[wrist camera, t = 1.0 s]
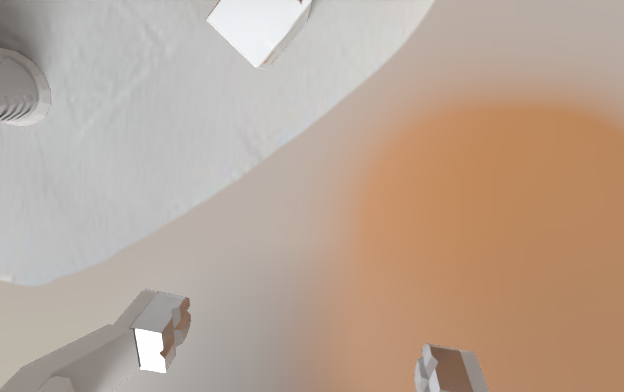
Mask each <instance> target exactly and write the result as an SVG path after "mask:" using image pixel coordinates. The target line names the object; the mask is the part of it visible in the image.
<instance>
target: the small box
mask: <svg viewBox="0 0 624 392" xmlns="http://www.w3.org/2000/svg"><path fill="white" fill-rule="evenodd" d="M311 4H312V0H219V2H218V3H217V4H216V6H215V7H214V9H213V10H212V11H211V13H210V14H209V15H208V17H207V18H206V20H207V22H208V23H209V24H211V25H212V26H213V27H214V28H215V29H216V30H217V31H218V32H219V33H220V34H221V35H222V36H223V37H224V38H225V39H226V40H227V41H228V42H229V43H230V44H231V45H232V46H233V47H234V48H235V49H237V50H238V51H239V52H240V53H241V54H242V55H243V56H244V57H245V58H246V59H247V60H248V61H249V62H250V63H251V64H252V65H253V66H254V67H255V68H260V69H269V68H270V67H271V66H272V65H273V64H274V62H275V61H276V60H277V59H278V58H279V56H280V55H281V54H282V53H283V52H284V50H285V49H286V48H287V47H288V45H289V44H290V43H291V42H292V41H293V39H294V38H295V37H296V36H297V34H298V33H299V32H300V31H301V29H302V28H303V27H304V26H305V24H306V23H307V20H308V15H309V12H310V8H311Z"/></svg>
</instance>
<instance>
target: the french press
mask: <svg viewBox="0 0 624 392" xmlns="http://www.w3.org/2000/svg"><path fill="white" fill-rule="evenodd" d="M50 106H51V91H50V87H49V85H48V83H47V81H46V78H45V76H44V74H43V73H42V72H41V71H40V69H39V68H38V67H37V66H36V65H35V64H34V63H33V62H32V61H31V60H30V59H28V58H26V57H25V56H23V55H22V54H20V53H18V52H17V51H13V50H9V49H4V48H0V122H5V123H7V124H12V125H17V126H27V125H33V124H36V123H38V122H39V121H40V120H42V119H43V118H44V117H46V115H47V113H48V110H49V108H50Z"/></svg>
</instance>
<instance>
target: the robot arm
mask: <svg viewBox="0 0 624 392" xmlns="http://www.w3.org/2000/svg"><path fill="white" fill-rule="evenodd" d="M189 306H190V301H189V298H187V297H183V296H178V295H173V294H169V293H165V292H159V291H155V290H150V289H145V290H143V291H142V292H141V293H140V294H139V295H138V296H137V297H136V299H135V300H134V301H133V302H132V303H131V304H130V306H129V307H128V308H127V309H126V310H125V311H124V313H123V314H122V315H121V316H120V317H119V318H118V320H117V321H116V322H115V323H114V324H113V325H106V326H104V327H102V328H100V329H98V330H96V331H94V332H92V333H90V334H88V335H86V336H84V337H82V338H80V339H78V340H76V341H74V342H72V343H70V344H68V345H66V346H64V347H62V348H60V349H58V350H56V351H54V352H52V353H50V354H48V355H46V356H44V357H42V358H39V359H38V360H35V361H33V362H31V363H29V364H27V365H25V366H23V367H22V368H21V369H20V370H19V371H18V372H17V373H16V374H15V375H14V376H13V377H12V378H11V379H10V380H9V381H8V382H7V383H6V384H5V385H4V386H2V387H1V388H0V392H111V391H112V390H114V389H115V388H116V387H117V386H119V385H120V384H122V383H123V382H124V381H126V380H127V379H128V378H130V377H131V376H132V375H134V374H135V373H136V372H138V371H139V370H140V368H142V369H147V370H153V371H159V372H166V371H167V369H168V368H169V366H170V364H171V362H172V361H173V359H174V357H175V355H176V348H175V347H177V346H178V345H180V344H182V343H183V341H184V340H185V338H186V336H187V333H188V330H189V327H190V322H191V315H190V314H189V313H188V312H187V310H188V308H189ZM422 354H423V357H421V358H420V359H418V361H417V364H416V367H415V374H414V376H415V387H416V390H417V392H490V391H489V388H488V386H487V383H486V380H485V378H484V375H483V373H482V370H481V368H480V365H479V362H478V360H477V357H476V355H475V354H474V353H473V352H471V351H466V350H460V349H455V348H451V347H445V346H440V345H434V344H428V343H426V344H425V345H424V347H423V349H422Z"/></svg>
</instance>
